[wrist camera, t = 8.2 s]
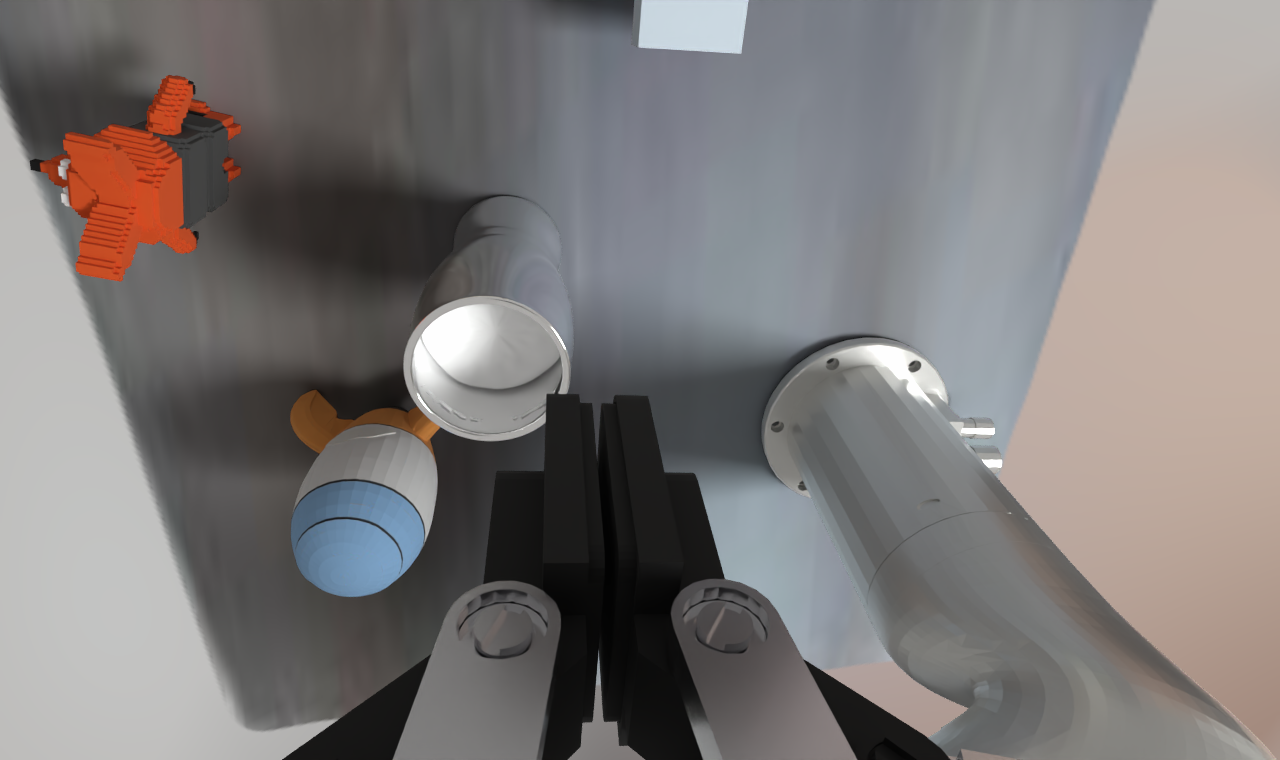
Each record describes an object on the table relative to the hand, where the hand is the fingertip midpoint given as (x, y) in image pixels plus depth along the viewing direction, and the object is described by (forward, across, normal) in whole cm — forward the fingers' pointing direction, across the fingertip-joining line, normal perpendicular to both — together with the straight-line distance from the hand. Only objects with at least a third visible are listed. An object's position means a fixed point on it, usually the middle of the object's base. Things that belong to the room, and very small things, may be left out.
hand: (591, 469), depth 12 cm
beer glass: (+31, +3, +7) cm, 32 cm away
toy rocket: (+31, +11, +18) cm, 38 cm away
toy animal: (+31, +19, +2) cm, 37 cm away
